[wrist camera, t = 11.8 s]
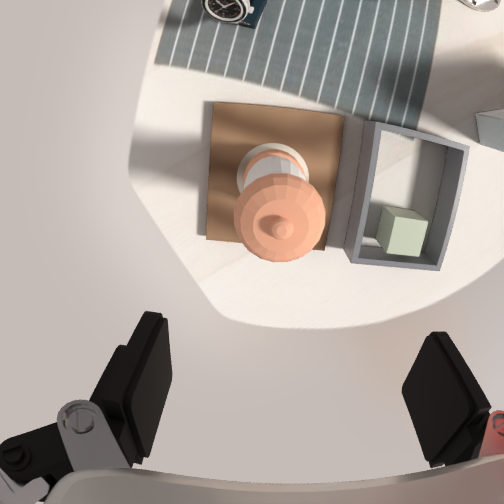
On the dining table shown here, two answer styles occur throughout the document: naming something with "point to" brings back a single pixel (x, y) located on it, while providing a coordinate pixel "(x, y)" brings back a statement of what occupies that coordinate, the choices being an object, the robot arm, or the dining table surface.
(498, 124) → the skincare box
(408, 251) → the sage block
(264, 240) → the pepper shaker
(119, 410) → the robot arm
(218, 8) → the watch
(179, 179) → the dining table surface
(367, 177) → the bin
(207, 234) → the serving board
